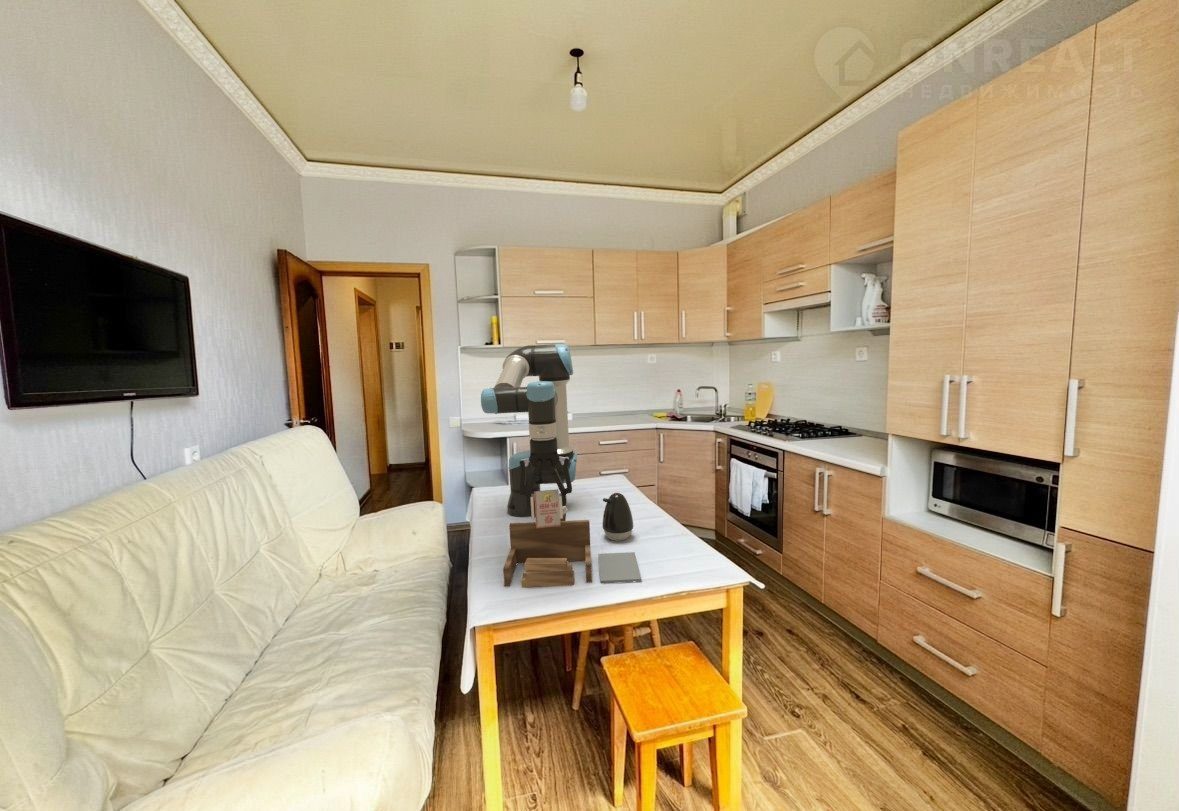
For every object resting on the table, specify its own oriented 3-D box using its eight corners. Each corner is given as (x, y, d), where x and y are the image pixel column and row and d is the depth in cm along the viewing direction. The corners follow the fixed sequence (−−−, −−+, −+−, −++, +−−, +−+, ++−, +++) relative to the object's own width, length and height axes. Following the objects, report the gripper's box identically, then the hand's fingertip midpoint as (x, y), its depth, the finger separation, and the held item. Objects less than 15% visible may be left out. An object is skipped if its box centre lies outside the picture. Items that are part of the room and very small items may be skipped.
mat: (598, 556, 135) (598, 553, 135) (634, 554, 135) (634, 552, 135) (600, 583, 119) (600, 580, 119) (641, 581, 119) (641, 578, 119)
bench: (512, 561, 133) (510, 523, 132) (590, 558, 134) (589, 519, 132) (504, 586, 120) (501, 543, 118) (591, 582, 120) (590, 539, 118)
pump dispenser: (596, 535, 150) (595, 492, 148) (622, 528, 155) (621, 486, 153) (613, 546, 141) (611, 500, 139) (639, 539, 146) (638, 494, 144)
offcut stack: (523, 578, 123) (522, 558, 122) (574, 576, 123) (573, 555, 122) (521, 588, 118) (520, 566, 117) (574, 585, 118) (573, 564, 117)
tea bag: (535, 523, 127) (533, 489, 126) (559, 520, 129) (557, 487, 127) (536, 528, 124) (534, 493, 123) (560, 525, 125) (558, 491, 124)
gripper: (504, 442, 119) (509, 524, 122) (579, 439, 119) (583, 520, 122) (509, 436, 127) (514, 514, 130) (579, 433, 127) (583, 510, 130)
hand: (547, 517), depth 126 cm, fingers closed on tea bag, 7 cm apart
